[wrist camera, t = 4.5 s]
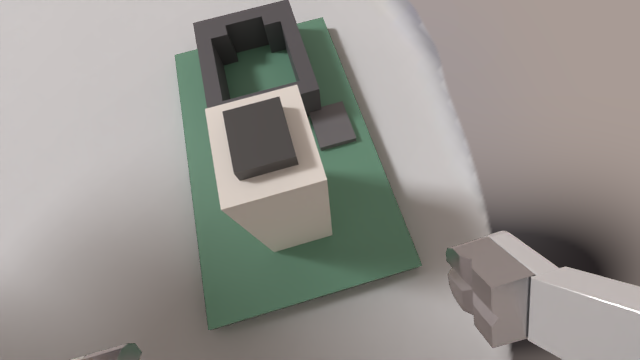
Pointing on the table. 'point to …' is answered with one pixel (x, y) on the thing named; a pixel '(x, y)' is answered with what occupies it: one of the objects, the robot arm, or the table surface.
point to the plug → (270, 168)
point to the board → (335, 153)
